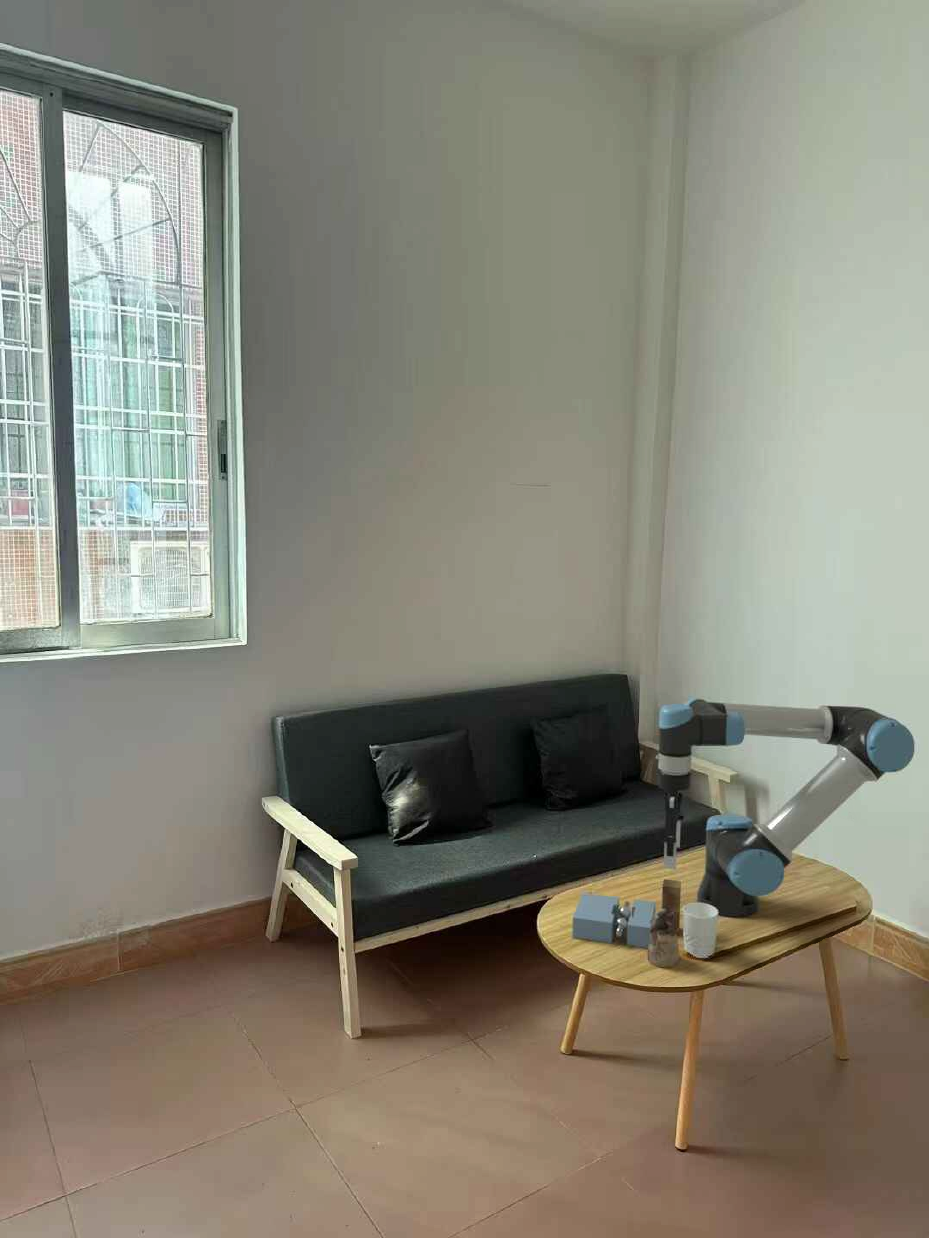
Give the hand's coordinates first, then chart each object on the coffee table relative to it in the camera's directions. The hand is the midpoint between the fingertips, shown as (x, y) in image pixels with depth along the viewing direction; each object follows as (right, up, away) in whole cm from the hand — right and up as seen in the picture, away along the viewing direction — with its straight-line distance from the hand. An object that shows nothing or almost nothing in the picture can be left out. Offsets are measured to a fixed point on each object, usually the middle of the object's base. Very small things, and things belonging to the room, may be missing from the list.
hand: (672, 857), depth 212 cm
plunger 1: (-10, -16, +7) cm, 20 cm away
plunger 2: (-13, -18, -2) cm, 22 cm away
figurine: (-5, -20, -11) cm, 24 cm away
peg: (0, -18, +2) cm, 19 cm away
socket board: (-13, -18, +3) cm, 23 cm away
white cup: (+4, -20, -7) cm, 22 cm away
